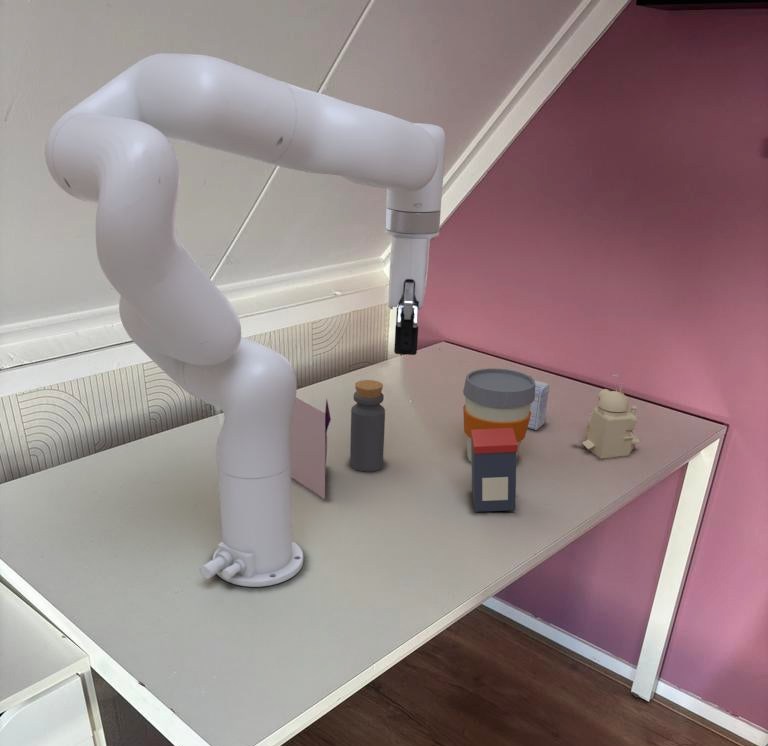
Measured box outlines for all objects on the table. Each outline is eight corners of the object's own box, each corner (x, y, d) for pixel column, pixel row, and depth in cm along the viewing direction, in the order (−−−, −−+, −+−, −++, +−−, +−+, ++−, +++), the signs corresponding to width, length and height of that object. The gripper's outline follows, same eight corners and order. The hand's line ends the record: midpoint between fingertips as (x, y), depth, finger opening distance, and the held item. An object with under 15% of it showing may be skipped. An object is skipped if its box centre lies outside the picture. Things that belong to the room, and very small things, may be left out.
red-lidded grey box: (471, 493, 134) (511, 491, 134) (474, 512, 128) (516, 510, 128) (471, 429, 129) (512, 427, 128) (474, 446, 123) (517, 444, 123)
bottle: (379, 473, 140) (382, 392, 132) (346, 469, 141) (348, 388, 133) (385, 459, 145) (389, 380, 138) (354, 456, 146) (355, 377, 138)
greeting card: (330, 499, 131) (331, 413, 123) (284, 499, 130) (282, 413, 123) (329, 468, 141) (330, 387, 133) (287, 468, 140) (285, 386, 133)
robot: (617, 437, 158) (631, 363, 151) (641, 454, 151) (657, 378, 144) (570, 442, 155) (583, 367, 148) (593, 459, 148) (607, 382, 141)
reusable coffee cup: (493, 438, 155) (501, 363, 148) (540, 462, 146) (552, 384, 139) (443, 452, 148) (449, 375, 141) (489, 479, 140) (499, 397, 132)
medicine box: (544, 424, 162) (550, 383, 158) (536, 431, 159) (541, 389, 155) (509, 415, 166) (513, 375, 162) (499, 421, 163) (504, 381, 158)
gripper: (387, 212, 119) (382, 326, 127) (383, 232, 103) (378, 360, 112) (438, 214, 118) (429, 329, 127) (441, 235, 103) (432, 363, 111)
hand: (405, 343), depth 119 cm, fingers open, 9 cm apart
